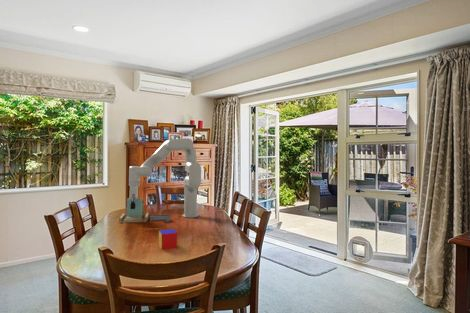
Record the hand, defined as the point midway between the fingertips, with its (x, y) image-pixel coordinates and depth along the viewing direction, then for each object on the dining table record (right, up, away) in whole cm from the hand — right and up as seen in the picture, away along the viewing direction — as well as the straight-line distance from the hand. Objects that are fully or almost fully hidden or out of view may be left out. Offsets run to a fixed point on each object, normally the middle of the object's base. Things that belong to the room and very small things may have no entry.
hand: (133, 207), depth 223 cm
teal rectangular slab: (0, -9, 0) cm, 9 cm away
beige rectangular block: (+1, -9, -4) cm, 10 cm away
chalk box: (-5, -10, +20) cm, 23 cm away
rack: (0, -10, 0) cm, 10 cm away
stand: (+18, -10, +2) cm, 21 cm away
